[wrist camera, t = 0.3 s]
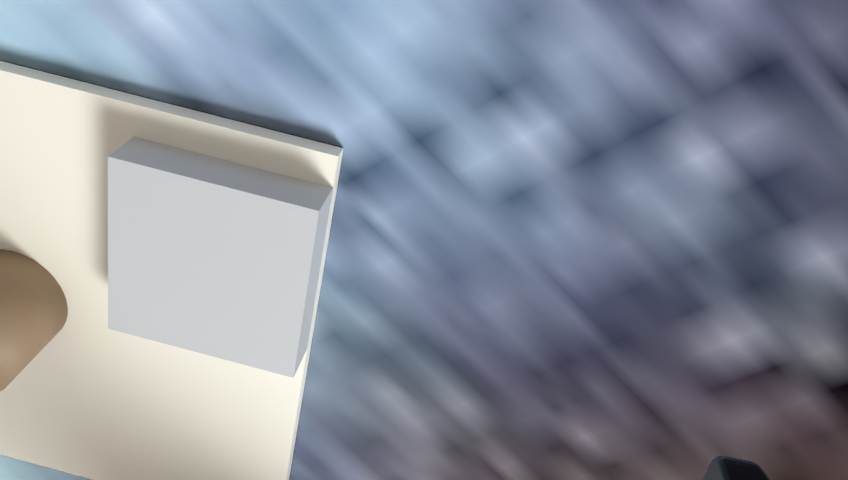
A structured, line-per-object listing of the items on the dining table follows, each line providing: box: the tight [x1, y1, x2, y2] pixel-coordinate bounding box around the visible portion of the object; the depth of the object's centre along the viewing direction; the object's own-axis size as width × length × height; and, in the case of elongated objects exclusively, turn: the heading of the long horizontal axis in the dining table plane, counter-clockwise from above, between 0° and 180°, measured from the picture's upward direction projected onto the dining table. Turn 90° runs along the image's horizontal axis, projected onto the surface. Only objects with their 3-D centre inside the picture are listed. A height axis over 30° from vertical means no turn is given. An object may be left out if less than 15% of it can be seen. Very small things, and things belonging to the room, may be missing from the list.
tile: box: [0, 61, 343, 480], centre depth 25 cm, size 16×12×4 cm
